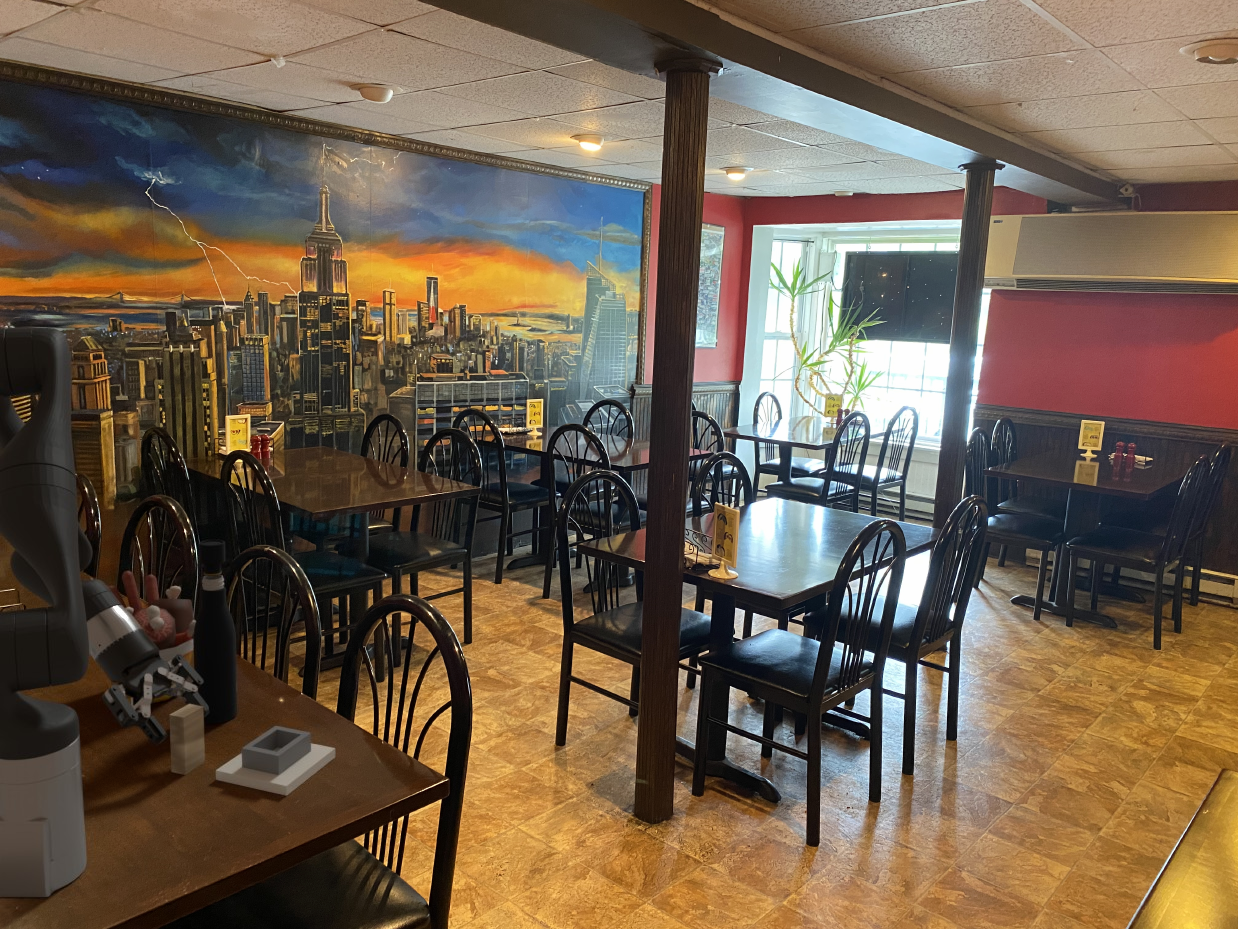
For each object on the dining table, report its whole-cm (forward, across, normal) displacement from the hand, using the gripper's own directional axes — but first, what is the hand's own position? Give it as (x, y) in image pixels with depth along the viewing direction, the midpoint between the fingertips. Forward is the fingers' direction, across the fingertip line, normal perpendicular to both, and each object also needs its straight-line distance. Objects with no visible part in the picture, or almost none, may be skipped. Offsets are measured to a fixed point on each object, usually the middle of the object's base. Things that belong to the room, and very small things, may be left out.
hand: (184, 728), depth 136 cm
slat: (+5, 0, +4) cm, 6 cm away
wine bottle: (-1, +15, +10) cm, 18 cm away
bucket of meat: (-13, +19, +22) cm, 31 cm away
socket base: (+13, +4, -5) cm, 15 cm away
